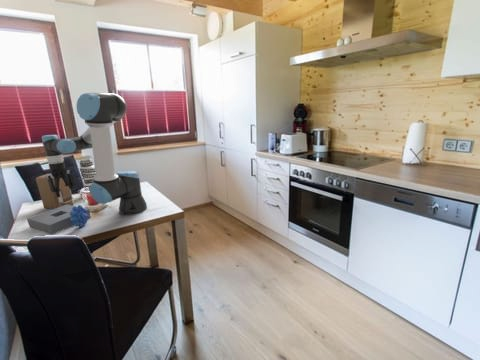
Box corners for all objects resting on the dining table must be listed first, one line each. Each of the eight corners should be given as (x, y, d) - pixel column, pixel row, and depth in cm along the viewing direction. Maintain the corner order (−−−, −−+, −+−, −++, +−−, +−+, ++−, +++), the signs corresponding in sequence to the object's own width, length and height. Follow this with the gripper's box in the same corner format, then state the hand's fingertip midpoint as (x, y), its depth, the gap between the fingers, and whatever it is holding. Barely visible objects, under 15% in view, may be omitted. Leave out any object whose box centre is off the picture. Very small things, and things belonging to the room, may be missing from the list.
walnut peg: (74, 208, 154) (69, 186, 150) (66, 211, 150) (61, 188, 146) (69, 207, 156) (64, 185, 152) (62, 210, 152) (56, 188, 148)
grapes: (82, 232, 124) (77, 209, 120) (69, 232, 124) (63, 210, 121) (96, 221, 135) (91, 200, 131) (84, 221, 135) (78, 200, 132)
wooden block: (70, 202, 164) (62, 172, 158) (58, 208, 154) (49, 177, 148) (56, 202, 165) (48, 173, 159) (43, 208, 155) (34, 177, 149)
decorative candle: (82, 195, 176) (74, 160, 169) (94, 191, 184) (86, 157, 177) (92, 196, 173) (83, 161, 165) (103, 192, 181) (96, 158, 174)
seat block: (90, 217, 140) (88, 209, 139) (52, 234, 123) (49, 225, 122) (68, 212, 149) (66, 204, 147) (29, 227, 131) (26, 218, 130)
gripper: (67, 158, 154) (76, 194, 161) (35, 165, 139) (46, 204, 145) (75, 159, 151) (84, 196, 158) (43, 166, 135) (54, 206, 142)
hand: (66, 200), depth 151 cm, fingers closed on walnut peg, 5 cm apart
